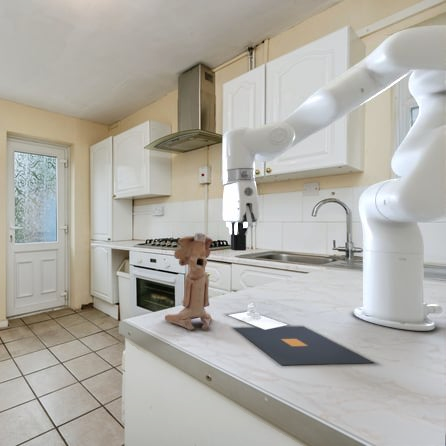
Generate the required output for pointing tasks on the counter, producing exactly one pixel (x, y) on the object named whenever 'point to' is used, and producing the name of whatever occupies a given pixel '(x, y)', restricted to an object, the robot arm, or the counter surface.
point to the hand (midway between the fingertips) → (238, 250)
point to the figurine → (193, 281)
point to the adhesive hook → (257, 318)
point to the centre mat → (300, 346)
